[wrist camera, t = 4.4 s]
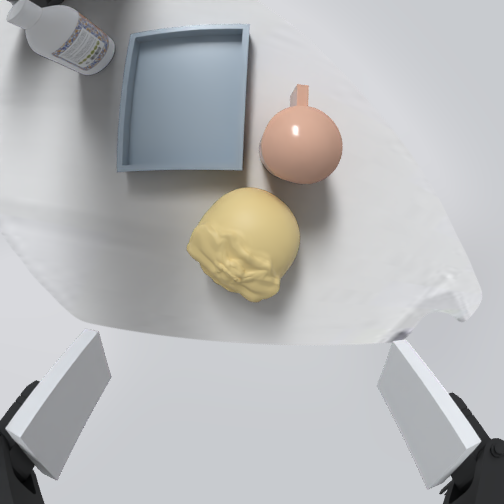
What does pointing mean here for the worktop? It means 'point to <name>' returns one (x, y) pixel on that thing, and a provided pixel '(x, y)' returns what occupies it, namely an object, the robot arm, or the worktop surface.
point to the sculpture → (246, 242)
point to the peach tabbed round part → (301, 142)
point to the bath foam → (63, 36)
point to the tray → (184, 99)
